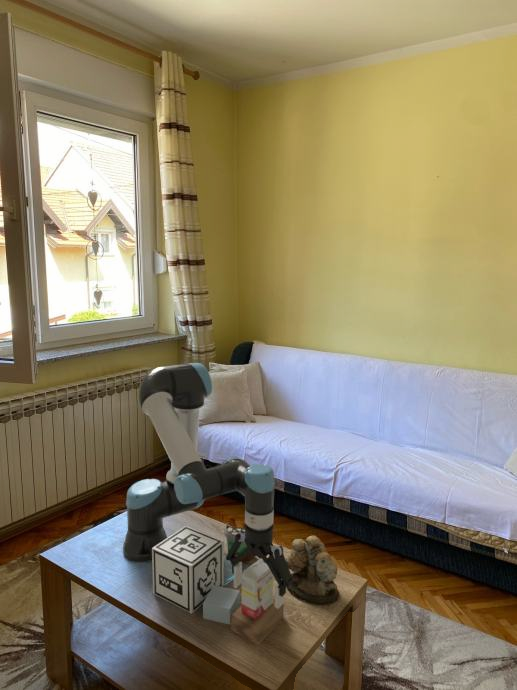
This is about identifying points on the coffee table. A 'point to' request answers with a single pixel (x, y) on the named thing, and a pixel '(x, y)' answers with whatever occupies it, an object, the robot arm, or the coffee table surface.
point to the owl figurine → (312, 572)
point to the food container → (230, 534)
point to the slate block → (221, 604)
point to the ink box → (257, 589)
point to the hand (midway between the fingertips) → (257, 594)
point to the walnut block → (257, 623)
